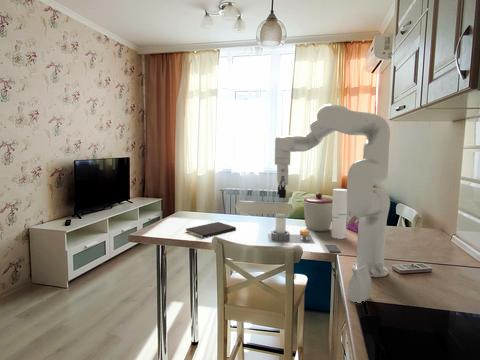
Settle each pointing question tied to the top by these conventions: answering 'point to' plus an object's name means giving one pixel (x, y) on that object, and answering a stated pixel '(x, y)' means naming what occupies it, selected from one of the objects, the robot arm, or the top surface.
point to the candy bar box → (352, 221)
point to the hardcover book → (211, 229)
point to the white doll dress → (360, 285)
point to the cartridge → (280, 224)
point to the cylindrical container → (339, 213)
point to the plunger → (304, 233)
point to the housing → (288, 238)
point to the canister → (318, 212)
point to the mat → (333, 248)
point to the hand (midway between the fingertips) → (281, 196)
